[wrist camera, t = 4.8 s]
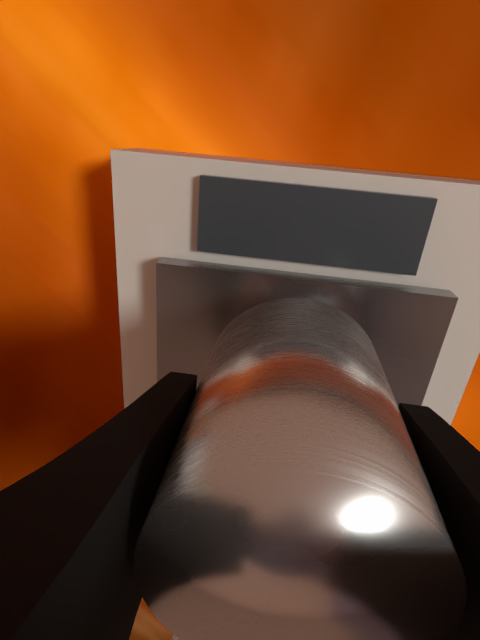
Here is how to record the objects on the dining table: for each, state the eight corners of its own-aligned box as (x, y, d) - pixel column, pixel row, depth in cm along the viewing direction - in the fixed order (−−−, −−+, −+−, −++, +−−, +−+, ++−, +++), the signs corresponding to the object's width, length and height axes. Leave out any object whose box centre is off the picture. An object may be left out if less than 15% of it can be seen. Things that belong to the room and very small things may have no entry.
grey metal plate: (362, 553, 15) (365, 568, 15) (162, 520, 16) (158, 533, 15) (449, 290, 11) (458, 297, 10) (162, 256, 11) (155, 262, 11)
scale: (385, 510, 17) (400, 565, 15) (147, 473, 18) (126, 520, 16) (499, 182, 12) (550, 192, 9) (139, 148, 12) (105, 149, 10)
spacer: (404, 319, 9) (534, 523, 4) (349, 456, 11) (396, 710, 6) (223, 281, 9) (145, 434, 4) (199, 422, 11) (126, 643, 6)
